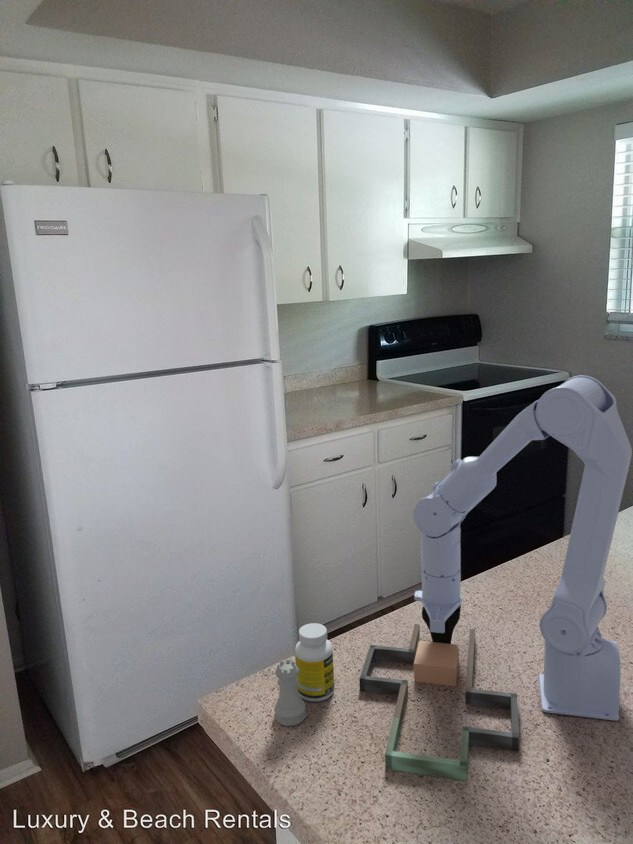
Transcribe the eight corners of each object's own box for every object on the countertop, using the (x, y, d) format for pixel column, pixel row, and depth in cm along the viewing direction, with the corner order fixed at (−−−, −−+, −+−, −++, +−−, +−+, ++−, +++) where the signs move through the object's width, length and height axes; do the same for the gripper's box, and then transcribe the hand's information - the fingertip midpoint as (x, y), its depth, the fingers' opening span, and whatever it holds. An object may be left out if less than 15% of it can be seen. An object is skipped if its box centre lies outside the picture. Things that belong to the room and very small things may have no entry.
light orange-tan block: (458, 662, 98) (458, 644, 98) (456, 686, 93) (455, 668, 92) (419, 658, 100) (418, 640, 99) (414, 681, 95) (413, 663, 94)
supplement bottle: (331, 704, 90) (327, 642, 88) (293, 701, 92) (289, 639, 89) (337, 680, 96) (334, 621, 93) (302, 678, 97) (297, 619, 95)
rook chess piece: (282, 732, 86) (278, 679, 84) (269, 713, 90) (264, 662, 88) (312, 720, 88) (309, 668, 86) (298, 702, 91) (294, 651, 90)
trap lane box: (514, 644, 102) (514, 632, 102) (520, 789, 74) (520, 774, 74) (378, 631, 108) (378, 620, 107) (337, 761, 80) (336, 747, 80)
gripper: (419, 547, 105) (421, 622, 108) (407, 589, 91) (410, 674, 94) (464, 549, 103) (464, 626, 106) (458, 593, 89) (459, 680, 92)
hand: (442, 649), depth 100 cm, fingers closed
